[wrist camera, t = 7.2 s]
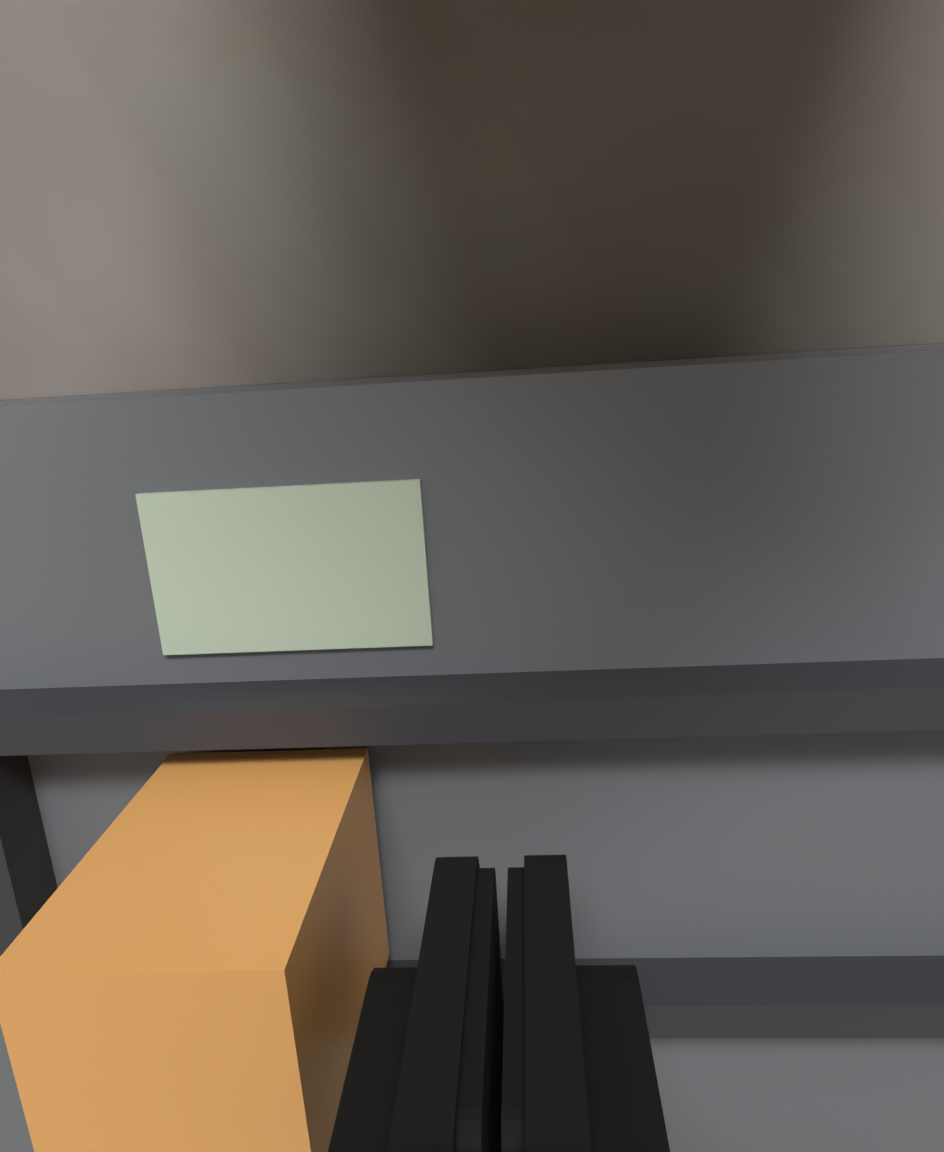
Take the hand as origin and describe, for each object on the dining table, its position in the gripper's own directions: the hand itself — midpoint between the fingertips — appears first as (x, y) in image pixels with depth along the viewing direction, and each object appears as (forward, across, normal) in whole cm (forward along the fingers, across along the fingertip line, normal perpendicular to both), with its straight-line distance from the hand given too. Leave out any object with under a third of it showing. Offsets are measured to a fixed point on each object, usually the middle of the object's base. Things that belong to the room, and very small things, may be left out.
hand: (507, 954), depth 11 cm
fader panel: (+4, -2, 0) cm, 5 cm away
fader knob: (+2, +4, 0) cm, 4 cm away
